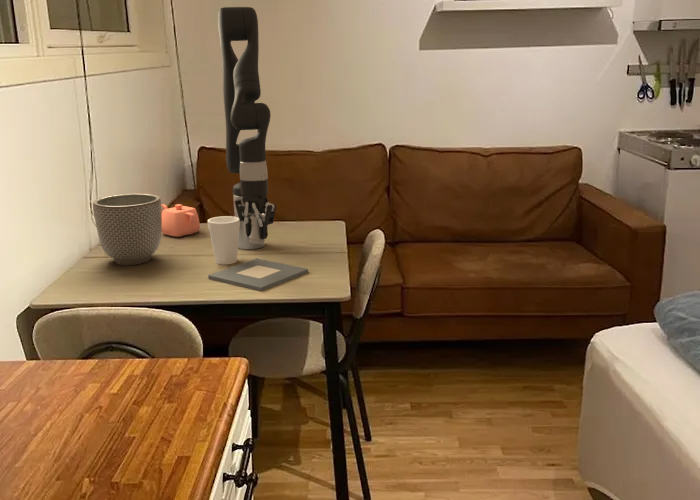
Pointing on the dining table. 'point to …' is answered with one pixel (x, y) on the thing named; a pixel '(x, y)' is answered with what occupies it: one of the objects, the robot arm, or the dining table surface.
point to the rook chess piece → (255, 231)
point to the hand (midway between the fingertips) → (256, 237)
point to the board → (258, 274)
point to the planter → (129, 226)
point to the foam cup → (224, 238)
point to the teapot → (179, 220)
